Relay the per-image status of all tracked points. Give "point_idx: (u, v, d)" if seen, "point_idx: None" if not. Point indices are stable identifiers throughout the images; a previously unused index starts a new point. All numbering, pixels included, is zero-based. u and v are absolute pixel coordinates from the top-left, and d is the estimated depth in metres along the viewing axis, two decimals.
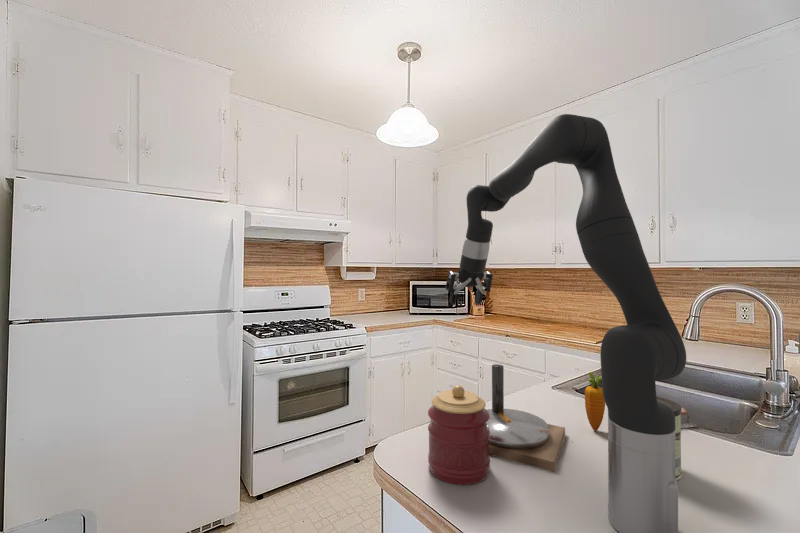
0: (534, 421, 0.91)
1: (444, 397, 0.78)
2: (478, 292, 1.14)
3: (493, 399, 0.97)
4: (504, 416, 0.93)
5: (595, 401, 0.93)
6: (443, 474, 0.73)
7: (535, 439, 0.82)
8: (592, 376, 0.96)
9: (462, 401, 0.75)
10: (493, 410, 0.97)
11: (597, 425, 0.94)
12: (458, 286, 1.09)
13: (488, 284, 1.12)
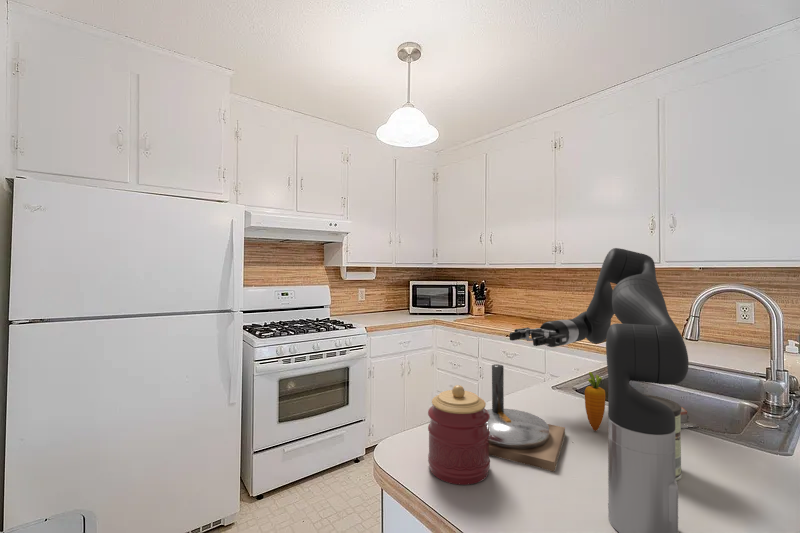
0: (534, 421, 0.91)
1: (444, 397, 0.77)
2: None
3: (493, 399, 0.97)
4: (504, 416, 0.93)
5: (595, 401, 0.93)
6: (443, 474, 0.73)
7: (535, 439, 0.82)
8: (592, 376, 0.96)
9: (462, 401, 0.75)
10: (493, 410, 0.97)
11: (597, 425, 0.94)
12: None
13: (556, 336, 1.01)
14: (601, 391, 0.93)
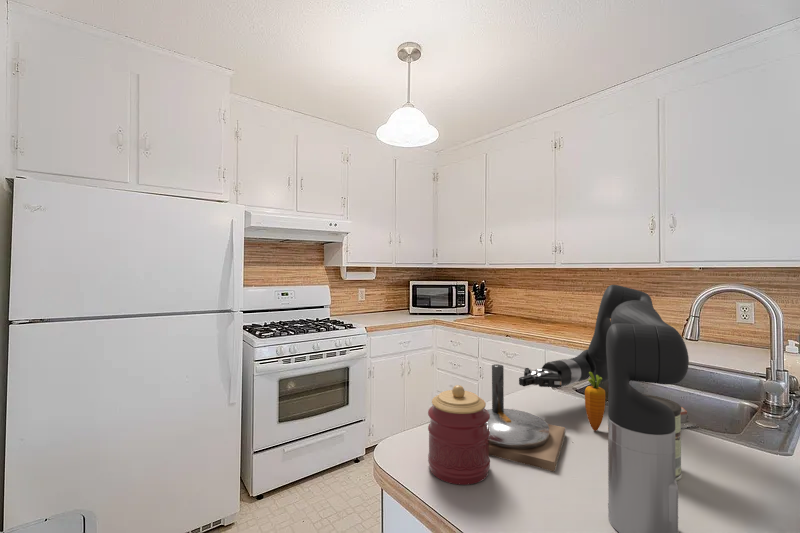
0: (534, 421, 0.91)
1: (444, 397, 0.78)
2: None
3: (493, 399, 0.97)
4: (504, 416, 0.93)
5: (595, 401, 0.93)
6: (443, 474, 0.73)
7: (535, 439, 0.82)
8: (592, 376, 0.96)
9: (462, 401, 0.75)
10: (493, 410, 0.97)
11: (597, 425, 0.94)
12: None
13: (547, 377, 1.03)
14: (601, 391, 0.93)
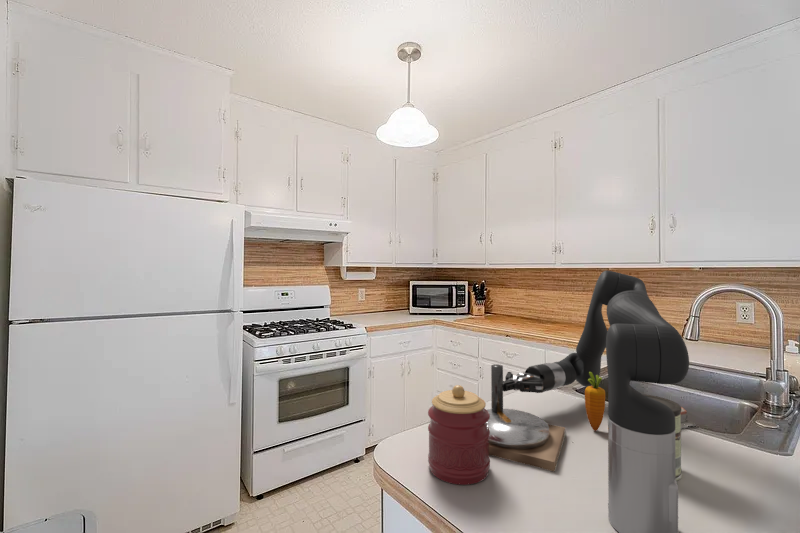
0: (534, 421, 0.91)
1: (444, 397, 0.78)
2: None
3: (492, 399, 0.97)
4: (504, 416, 0.93)
5: (595, 401, 0.93)
6: (443, 474, 0.73)
7: (536, 439, 0.82)
8: (592, 376, 0.96)
9: (462, 401, 0.75)
10: (492, 410, 0.97)
11: (597, 425, 0.94)
12: None
13: (529, 382, 0.99)
14: (601, 391, 0.93)
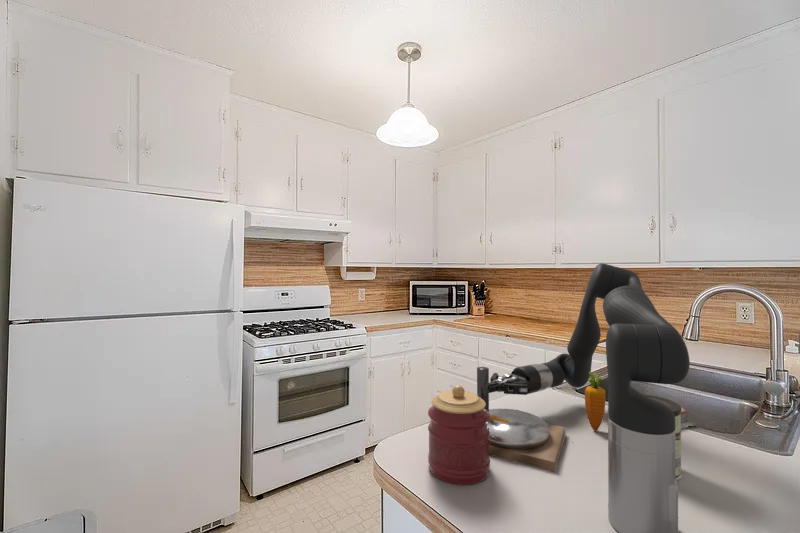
0: (522, 415, 0.95)
1: (444, 397, 0.77)
2: None
3: None
4: (499, 418, 0.92)
5: (595, 401, 0.93)
6: (443, 474, 0.73)
7: (548, 431, 0.86)
8: (592, 376, 0.96)
9: (462, 401, 0.75)
10: None
11: (597, 425, 0.94)
12: None
13: (513, 384, 0.97)
14: (601, 391, 0.93)
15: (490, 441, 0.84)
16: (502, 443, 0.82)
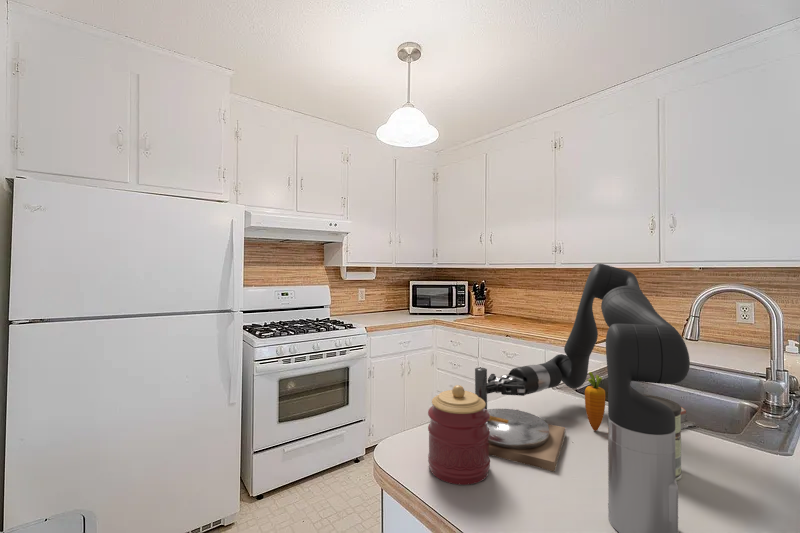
0: (519, 414, 0.95)
1: (444, 397, 0.78)
2: None
3: None
4: (498, 418, 0.92)
5: (595, 401, 0.93)
6: (443, 474, 0.73)
7: None
8: (592, 376, 0.96)
9: (462, 401, 0.75)
10: None
11: (597, 425, 0.94)
12: None
13: (510, 385, 0.97)
14: (601, 391, 0.93)
15: (495, 443, 0.83)
16: (508, 444, 0.82)
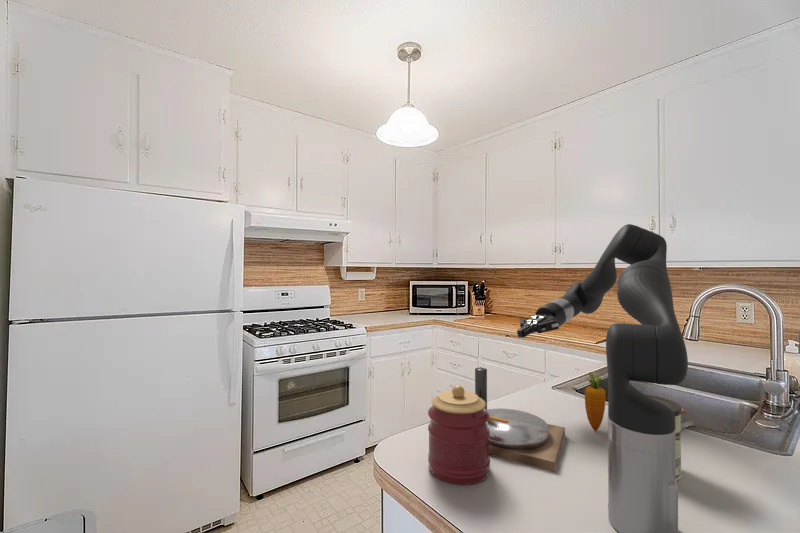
0: (519, 414, 0.95)
1: (444, 397, 0.78)
2: None
3: None
4: (498, 418, 0.92)
5: (595, 401, 0.93)
6: (443, 474, 0.73)
7: None
8: (592, 376, 0.96)
9: (462, 401, 0.75)
10: None
11: (597, 425, 0.94)
12: None
13: (544, 322, 1.01)
14: (601, 391, 0.93)
15: (495, 443, 0.83)
16: (508, 444, 0.82)
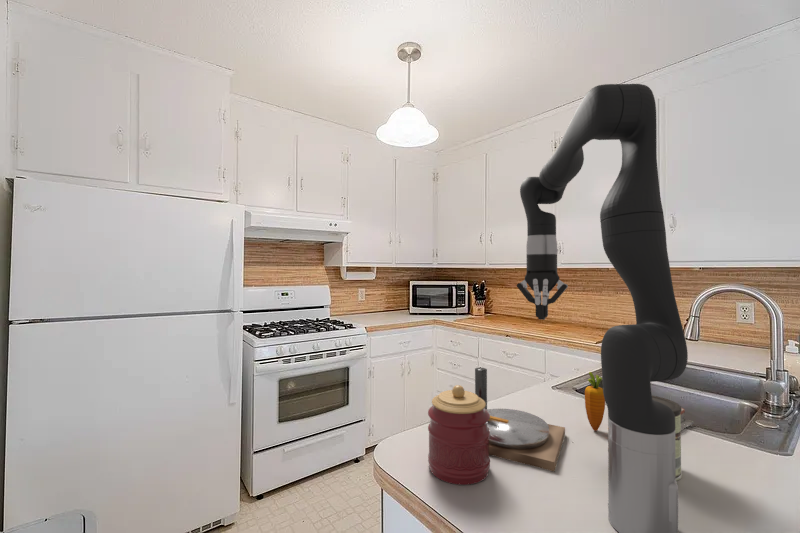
0: (519, 414, 0.95)
1: (444, 397, 0.77)
2: None
3: None
4: (498, 418, 0.92)
5: (595, 401, 0.93)
6: (443, 474, 0.73)
7: None
8: (592, 376, 0.96)
9: (462, 401, 0.75)
10: None
11: (597, 425, 0.94)
12: None
13: (555, 294, 0.93)
14: (601, 391, 0.93)
15: (495, 443, 0.83)
16: (508, 444, 0.82)
